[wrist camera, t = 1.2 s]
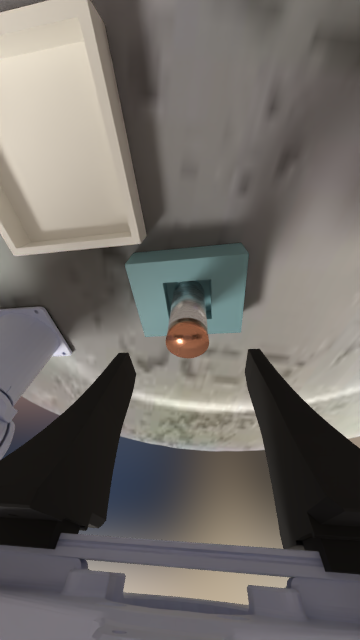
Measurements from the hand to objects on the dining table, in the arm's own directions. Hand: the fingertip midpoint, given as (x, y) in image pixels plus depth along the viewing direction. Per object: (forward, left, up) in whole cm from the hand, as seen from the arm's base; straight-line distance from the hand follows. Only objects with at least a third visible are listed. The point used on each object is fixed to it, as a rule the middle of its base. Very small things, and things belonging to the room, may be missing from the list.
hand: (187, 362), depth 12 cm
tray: (-9, +11, -10) cm, 18 cm away
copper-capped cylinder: (0, 0, -9) cm, 9 cm away
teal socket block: (0, 0, -10) cm, 10 cm away
